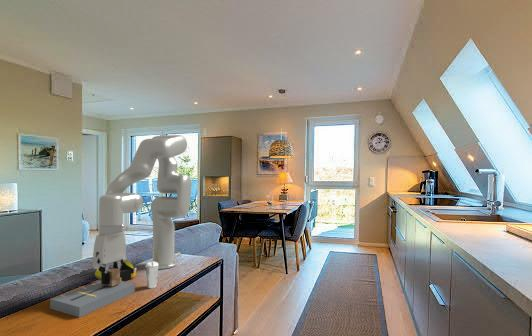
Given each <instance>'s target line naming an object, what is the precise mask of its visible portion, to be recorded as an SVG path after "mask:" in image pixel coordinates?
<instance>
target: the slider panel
mask: <svg viewBox="0 0 532 336" xmlns="http://www.w3.org/2000/svg"><path fill="white" fill-rule="evenodd" d="M135 292H136V283H133V282H128V281H120V284H117V285H115V286H107V285H103V284H101V280H99V281H96V282H93V283H91V284H90V283H89V284H87V285H85V286H82V287H80V288H77V289H74V290H71V291H68V292H65V293H63V294H61V295H57V296H55V297H51V298H50V299H49V309H50V310H53V311H57V312H60V313H62V314H63V313H64V314H67V315H69V316H73V317H76V318H79V319H80V318H81V317H84V316H87V315H88V314H90V313H93V312H95V311H97V310H99V309H101V308H104V307H106V306H109V305H110V304H112V303H114V302H116V301H118V300H119V301H120V300H121V299H123V298H126V297H127V296H131V295H132V294H134V293H135Z"/></svg>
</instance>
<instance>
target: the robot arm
mask: <svg viewBox="0 0 532 336" xmlns="http://www.w3.org/2000/svg"><path fill="white" fill-rule="evenodd" d="M187 148H188V142H187V139H186V138H185V137H184V136H183V135H181V134H171V135H166V134H165V135H156V136H155V135H154V136H153V137H152V138H145V139H143V140H142V141H141V142H140V143H139V145H138V148H137V149H136V152H135V154H134V156H133V158H132V160H131V162H130V165H129V166H128V168H126V169H125V170H123V171H122V172H121V173H120V174H118V175H117V176H116V177H115V178H114V179H112V181H111V182H110V184H109V185H108V188H107V190H106V192H105V194H104V195H101V196H100V197H99V200H98V214H99V215H98V234H97V235H96V236H95V239H94V244H93V253H92V266H91V269H95V270H99V271H100V272H101V273H102V275H101V280H100V281H102V284H106V285H108V284H109V283H110V273H109V272H108V269H109V267H110V264H112V268H115V269H120V270H121V269H122V263H123V261H127V259H128V255H127V243H126V236H125V235H126V234H125V231H124V228H125V227H126V226H125V223H124V214H134V213H137V212H139V211H140V210H141V209H142V208H143V205H144V199H143V197H142V196H141V195H140V194H138V193H135V192H133V193H132V192H125V191H126V189H128V188H129V187H130V186H132V185H133V184H135V183H138V182H140V181H143V180H145V179H147V178H149V177H150V176H151V174H152V171H153V169H154V166H155V164H156V162H157V160H158V172H157V179H156V189H157V191H158V193H161V194H167V195H169V194H170V195H172V194H173V195H176V196H158V197H155V198H154V199H152V201H151V203H150V213H151V219H152V261H151V262H153V261H154V262H157V263H158V264H159V265H158V270H163V269H169V268H173V267H175V266H177V265H178V263H179V262H178V260H177V258H178V257H180V256H182V254H181V252H180V251H178V252H175V232H176V231H175V228H176V227H175V223H174V221H173V218H175V219H176V218H177V219H182V218H185V217H186V216H188V214H189V211H190V206H191V194H192V180H191V178H190V176H189V174H186V173H178V161H177V159H176V158H175V157H176V156H179V155H181V154H183V153H185V152H186V151H187Z"/></svg>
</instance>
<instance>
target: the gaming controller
mask: <svg viewBox="0 0 532 336" xmlns="http://www.w3.org/2000/svg"><path fill="white" fill-rule="evenodd" d="M137 269H138V268H137V267H134V265H133V264H132V263H131V262H130V261H129V260H125V261H123V263H122V265H121V268H120V281H124V282H127V281H128V280H131V279H133V278H135V277H136V276H137ZM94 277H95V279H97V280H99V281H101V272H100V271H99V270H97V269H95V272H94Z"/></svg>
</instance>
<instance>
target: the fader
mask: <svg viewBox="0 0 532 336" xmlns="http://www.w3.org/2000/svg"><path fill="white" fill-rule="evenodd" d="M120 271H121V268H120V269H115V268H113V267H111V266H109V269H108V272H109V273H110V283H109V284H108V285H107V286H115V285H117V284H120ZM101 275H102V273H101ZM100 281H101V280H100ZM101 284H102V281H101ZM103 285H106V284H103Z"/></svg>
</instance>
